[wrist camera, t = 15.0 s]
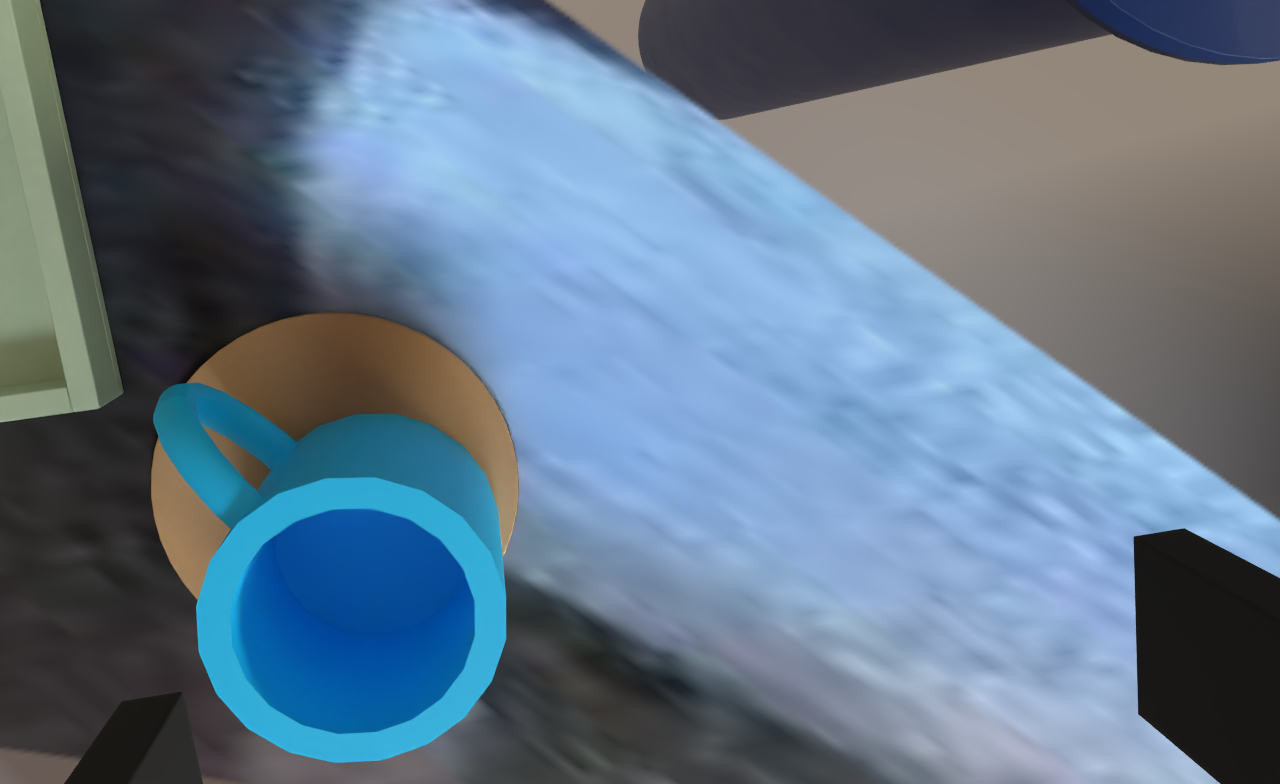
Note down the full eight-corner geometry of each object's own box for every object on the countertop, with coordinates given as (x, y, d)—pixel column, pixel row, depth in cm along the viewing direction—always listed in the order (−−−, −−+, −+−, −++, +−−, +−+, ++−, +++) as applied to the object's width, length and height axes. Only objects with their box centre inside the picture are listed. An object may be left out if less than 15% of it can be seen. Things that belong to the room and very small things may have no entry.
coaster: (492, 289, 37) (492, 290, 37) (539, 622, 40) (540, 627, 40) (119, 338, 36) (115, 340, 36) (192, 681, 38) (189, 686, 38)
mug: (548, 525, 39) (569, 614, 31) (382, 688, 39) (360, 819, 31) (285, 279, 36) (234, 308, 28) (107, 456, 36) (6, 534, 28)
